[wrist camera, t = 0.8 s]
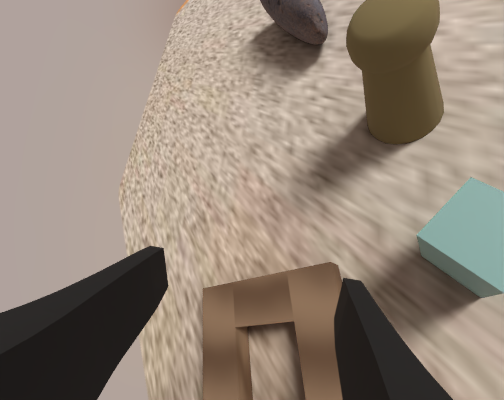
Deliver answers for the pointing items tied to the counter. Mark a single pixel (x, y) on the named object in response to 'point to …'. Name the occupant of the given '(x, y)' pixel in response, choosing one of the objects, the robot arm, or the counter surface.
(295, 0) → the perforated stone tool
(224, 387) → the walnut socket block
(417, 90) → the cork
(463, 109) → the counter surface
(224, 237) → the counter surface
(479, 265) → the teal peg
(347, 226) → the counter surface
